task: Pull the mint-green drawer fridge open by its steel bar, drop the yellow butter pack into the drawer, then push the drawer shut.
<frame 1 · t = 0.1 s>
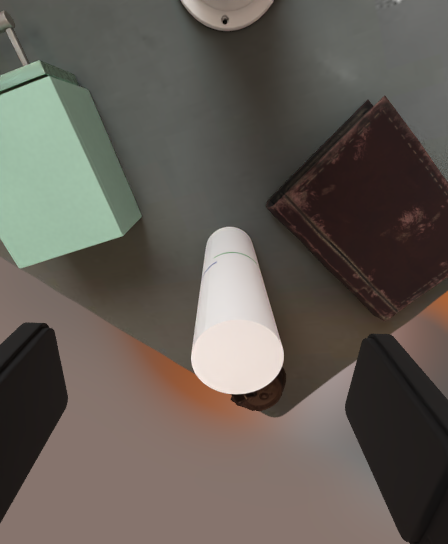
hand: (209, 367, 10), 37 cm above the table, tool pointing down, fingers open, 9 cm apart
cylindrical container: (229, 249, 47), on the table
coffee cup: (248, 333, 53), on the table
fridge drawer: (32, 135, 36), point 5 cm above the table, slide at 0.5 cm
fridge: (71, 173, 42), on the table
diary: (369, 215, 45), on the table
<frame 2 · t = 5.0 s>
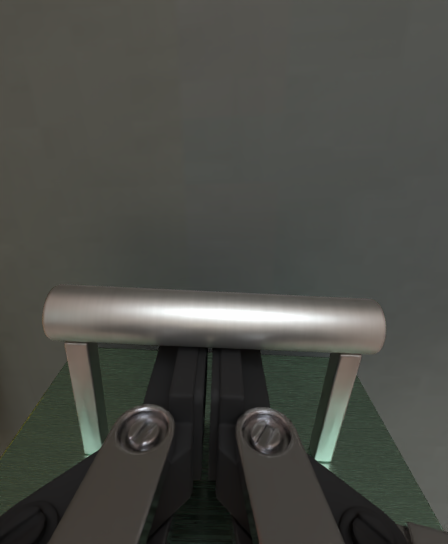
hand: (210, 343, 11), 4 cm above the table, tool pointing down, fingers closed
fridge drawer: (205, 512, 13), point 5 cm above the table, slide at 3.0 cm, touching gripper
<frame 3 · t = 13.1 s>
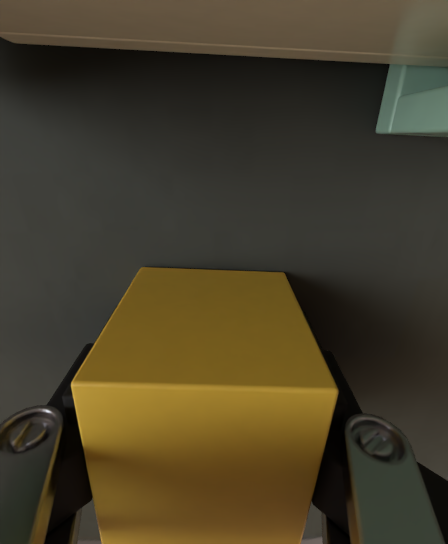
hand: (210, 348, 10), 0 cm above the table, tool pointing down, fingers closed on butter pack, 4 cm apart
butter pack: (210, 341, 11), on the table, touching gripper
when the fingers open (8 cm above the table, at t = 18.3 s): butter pack drops 6 cm, resting on fridge drawer.
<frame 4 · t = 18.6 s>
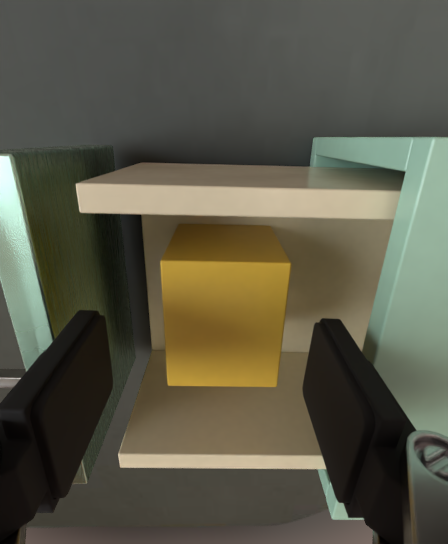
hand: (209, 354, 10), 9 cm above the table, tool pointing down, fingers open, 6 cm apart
butter pack: (223, 275, 16), point 2 cm above the table, touching fridge drawer
fridge drawer: (188, 302, 14), point 5 cm above the table, slide at 9.6 cm, touching butter pack
fridge: (437, 267, 18), on the table
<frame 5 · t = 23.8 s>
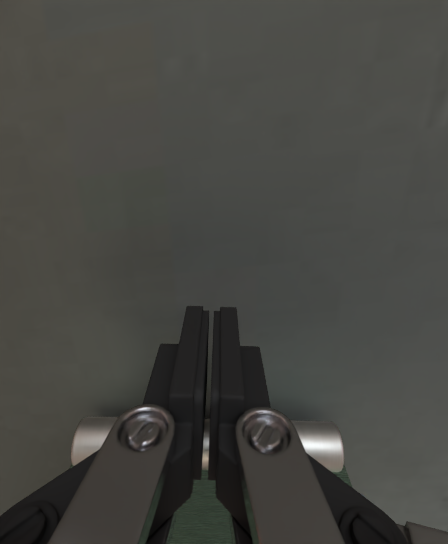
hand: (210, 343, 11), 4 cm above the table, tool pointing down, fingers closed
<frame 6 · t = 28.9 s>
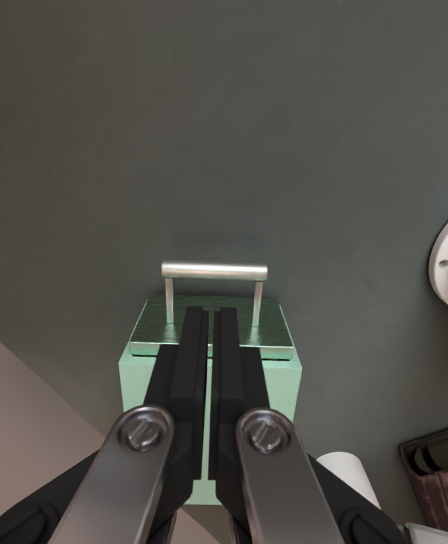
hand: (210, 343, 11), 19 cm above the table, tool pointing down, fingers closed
cylindrical container: (334, 468, 43), on the table
fridge drawer: (211, 363, 29), point 5 cm above the table, slide at 0.0 cm, touching butter pack
fridge: (211, 366, 35), on the table
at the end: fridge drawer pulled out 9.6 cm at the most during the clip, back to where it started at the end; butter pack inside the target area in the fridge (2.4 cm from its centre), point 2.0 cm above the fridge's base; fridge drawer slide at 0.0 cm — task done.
